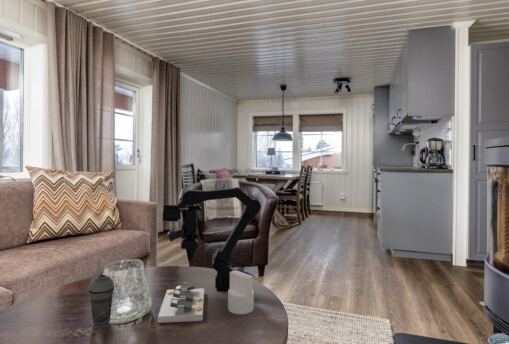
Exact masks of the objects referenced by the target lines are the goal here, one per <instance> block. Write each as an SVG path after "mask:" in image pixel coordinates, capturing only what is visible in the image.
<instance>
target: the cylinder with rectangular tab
mask: <svg viewBox="0 0 509 344" xmlns="http://www.w3.org/2000/svg"><path fill="white" fill-rule="evenodd" d="M253 283H254V277H253V275H250V274H247V273H246V272H245V273H244V272H242V271H239V270H233V271H232V272H230V289H229V290H228V291H227V310H228V311H229V312H230V313H232V314H234V315H235V314H236V315H246V314H249V313H251V312H253V310H254V309H255V308H254V307H255V305H254V304H255V303H254V300H255V293H254V292H255V291H254V285H253Z"/></svg>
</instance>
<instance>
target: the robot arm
mask: <svg viewBox="0 0 509 344" xmlns="http://www.w3.org/2000/svg"><path fill="white" fill-rule="evenodd" d="M233 198H236V199H237V200H238V201H240V202H241V203H242V204H243V206H242V210H241V214H240V216H239V217H238V220H237V222H236V223H235V225H234V227H233V229H232V230H231V232H230V234H229V236H228V237H227V239H226V240H225V243H224V244H223V246H222V247H221V248H219V247H216V249H215V252H214V253H213V254H212V256H211V257H212V267H213V269H214V270H215V271H216V275H214V276H215V278H214V280H215V281H214V284H215V285H214V288H215V290H216V291H217V292H228V290H229V289H230V272H232V271H234V270H233V267H232V264H231V262H230V260H231V256H232V253H233V251H234V249H235V247H236V245H237V244H238V242H239V241H240V239H241V237H242V235H243V233H244V231H245V230H246V228H247V226H248V225H249V223H250V222H251V221H252V220H253V219H254V218H255V217H257V214H258V213H259V212H260V211H261V209H262V205H261V203H260V201H259V200H258V199H257V198H254V197H250V196H249V195H247V194H246V193H245V192H244V191H243V190H242V189H241V188H240V187H238V186H236V187H235V186H234V187H231V188H221V189H211V190H201V189H186V191H184V193H183V194H182V198H181V199H182V200H181V201H179V202H178V204H169V203H167V204H166V203H165V204H163V210H162V222H163V223H175V222H176V223H177V222H179V220H181V219H182V223H181V227H177V228H174V229H171V230H170V231H168V232H167V239H168V240H169V242H170V243H171V242H173V241H176V240H178V239H180V238H181V239H182V240H181V241H180V249H181V250H185V251H186V258H187V261H188V262H191V261H192V259H193V257H194V254H195V252H196V249H198V248H199V240H198V234H199V233H198V211H203V208H202V207H201V205H200V204H201V203H203V202H207V201H214V200H222V199H223V200H224V199H233ZM187 206H188V207H187Z"/></svg>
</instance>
